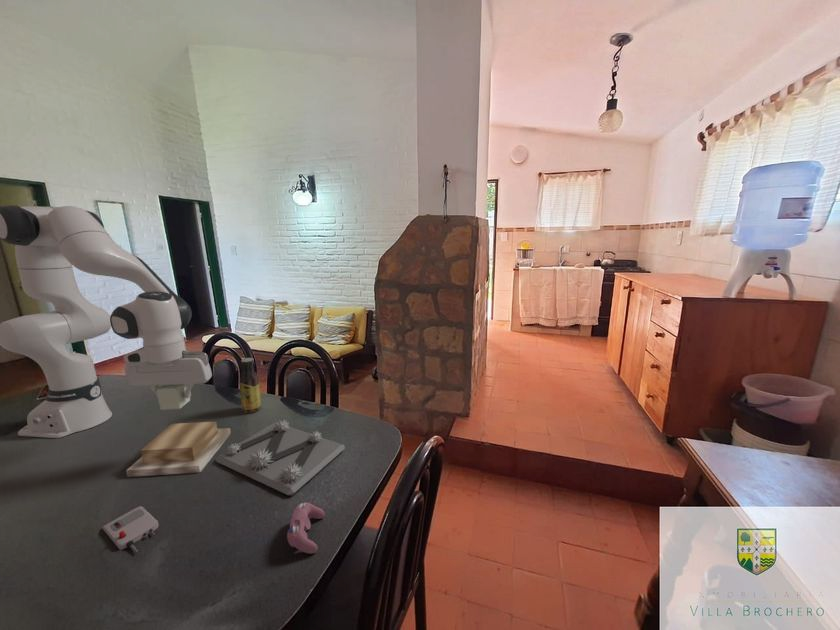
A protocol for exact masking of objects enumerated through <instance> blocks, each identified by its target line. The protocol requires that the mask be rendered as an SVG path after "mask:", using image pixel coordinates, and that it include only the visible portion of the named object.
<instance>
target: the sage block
mask: <svg viewBox="0 0 840 630" xmlns="http://www.w3.org/2000/svg"><path fill="white" fill-rule="evenodd" d="M159 387H160V388H158V389H157V395H158V399H157V401H158V405H159V408H160V411H163V410H164V411H165V410H167V411H168V410H180V409H182V408H183V407H184V406H185V405H186V404H188V403H189V402H190V401H191V396H190V397H189V398H182V395H181V393H182V392H184V391H185V390H186V388H187V387H186V388H185V387H184V384H179V385H160V386H159ZM157 395H156V396H157Z"/></svg>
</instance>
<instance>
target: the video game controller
mask: <svg viewBox="0 0 840 630" xmlns="http://www.w3.org/2000/svg"><path fill="white" fill-rule="evenodd" d="M325 514H326V513H325V511H324V510H323V509H322V508H320V507H318V506H316V505H314V504H312V503H310V502H301V503H299V504H298V505H296V506H295V508H294V510H293V512H292V516H291V519H290V523H289V529H288V531H287V534H286V535H287V536H286V537H287V542H288V544H289V545H290V546H291V547H292V548H296V549H297V550H299V551H300V552H303V553H305V554H309V555H310V554H316V553H317V552H318V550H319V549H318V548H319V547H318V545H317V544H316V543H315V542H314V541H313V540H311V539H309V538H308V533H307V532H306V531H308V530H310V529H311V526H312V525H311V520H310V518H312V519H315V520H316V519H317V520H321V519H324V518H325Z"/></svg>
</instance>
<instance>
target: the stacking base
mask: <svg viewBox="0 0 840 630" xmlns="http://www.w3.org/2000/svg"><path fill="white" fill-rule="evenodd" d="M217 424H218V423H217V421H202V422H201V421H200V422H183V423H182V422H181V423H179V422H178V423H171V424H170V425H169V426H167V427H166V428H165V429H164V430H163V431H161V432H160V433H159V434H158V435H157V436H155V438H153V439H152V440H151V441H150V442H149V443H148V444H146V446H144V447H143V448H141V449H140V453H141V457H139V459H137V460H136V461H135V462H134V463H133V464H132V465H131V466H130V467H128V468H127V469H126V471H125V472H126V476H127V478H131V477H133V478H134V477H147V476H149V477H150V476H163V475H177V474H178V475H180V474H194V473H201V472H202V471H203V470H204V468H205V467H206V466H207V465H208V463H209V462H210V461H211V459H212V458H213V457H214V455H215V454H216V453H217V452H218V450H219V449H220V448H221V447H222V445H223V444H224V443H225V442H226V440H227V439H228V438H229V436H230V435H231V428H230V427H229V428H228V427H226V428H225V427H223V428H218V425H217Z"/></svg>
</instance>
